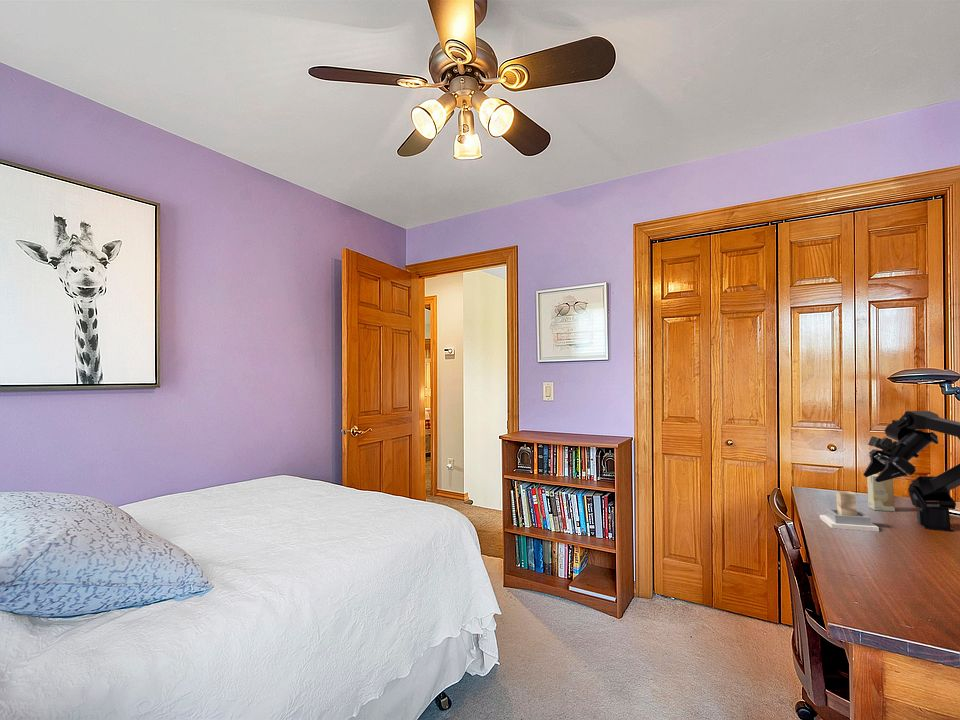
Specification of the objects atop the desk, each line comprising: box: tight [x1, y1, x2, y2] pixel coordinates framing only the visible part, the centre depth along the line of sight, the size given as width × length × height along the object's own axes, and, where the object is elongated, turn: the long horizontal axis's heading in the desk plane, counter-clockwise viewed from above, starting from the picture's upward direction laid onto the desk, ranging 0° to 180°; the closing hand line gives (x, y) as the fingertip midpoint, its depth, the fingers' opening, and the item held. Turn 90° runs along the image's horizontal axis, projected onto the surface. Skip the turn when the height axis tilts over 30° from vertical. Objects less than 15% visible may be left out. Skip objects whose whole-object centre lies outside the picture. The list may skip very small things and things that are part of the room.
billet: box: [835, 490, 858, 516], centre depth 148 cm, size 4×4×9 cm
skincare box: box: [866, 473, 896, 512], centre depth 165 cm, size 6×4×12 cm
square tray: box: [819, 508, 880, 532], centre depth 148 cm, size 12×12×4 cm
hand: (870, 478), depth 153 cm, fingers open, 9 cm apart
